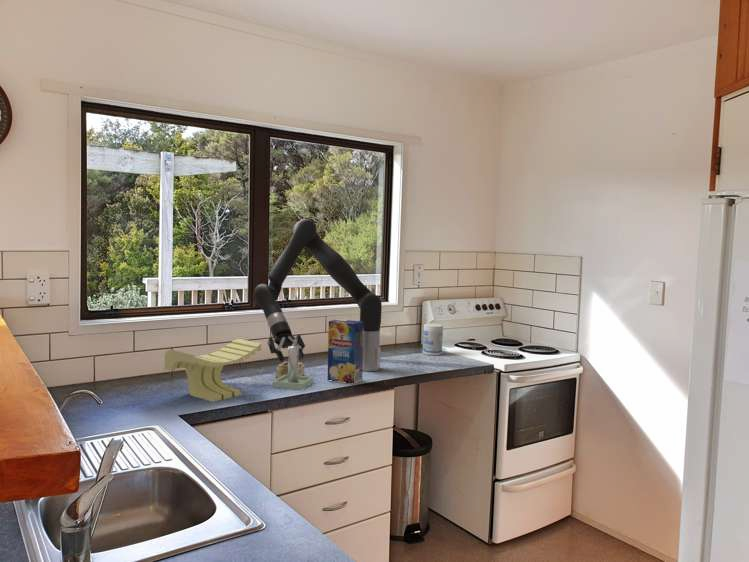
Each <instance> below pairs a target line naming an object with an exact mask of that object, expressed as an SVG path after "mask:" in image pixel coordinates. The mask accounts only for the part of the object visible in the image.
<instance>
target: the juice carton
mask: <svg viewBox="0 0 749 562" xmlns="http://www.w3.org/2000/svg"><path fill="white" fill-rule="evenodd" d="M363 323H364V321H360V320H351V319H341V318H337V319H336V318H335V319H333V320H328V333H327V334H328V335H327V339H328V341H327V343H328V345H327V347H328V348H327V381H328V380H332V381H331V382H333V381H340V382H346V383H345V384H348V383H353V384H352V385H355V384H354V383H356V382H358V383H360V382H362V381H363V371H362V365H363ZM361 380H362V381H361ZM359 381H360V382H359ZM340 382H339V383H340ZM356 384H357V383H356Z"/></svg>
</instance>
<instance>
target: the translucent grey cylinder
mask: <svg viewBox="0 0 749 562" xmlns="http://www.w3.org/2000/svg"><path fill="white" fill-rule="evenodd" d="M287 349H288V353H287V354H288V356H287V357H288V359H287V360H288V361H287V362H288V382H292V383H298V382H299V363H300V358H299V346H296V345H294V344H292V346H288V348H287Z"/></svg>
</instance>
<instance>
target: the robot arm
mask: <svg viewBox="0 0 749 562" xmlns="http://www.w3.org/2000/svg"><path fill="white" fill-rule="evenodd" d="M317 230H318V229H317V225H316V223H315V222H314V221H313V220H311V219H309V218H305V219H301V220H299V221H298V222H296V223H295V224H294V226H293V229H292V236H291V239H290V240H289V242H288V243H287V246H286V247H285V249H284V250H283V252H281V254H280V256H279V257H278V259H277V260H276V262H275V263H274V265H273V266H272V268H271V269H270V271H269V273H268V275H267V279H268V280H269V283H268V285H267V284H266V283H260V284H258V285H256V287H255V288H254V292H253V293H254V298H255V300H256V302H257V303H258V306H259V307H260V308H261V310H262V312H263V315H264V316H265V320H266V322H267V326H268V329H269V331H270V333H271V335H272V336H270V337H269V338H268V340H267V346H268V348H269V351H270V354H275V355H276V356H277V359H278V361H280V362H281V363H283V362H285V355H284V354H283V352H282V349H288V346H292V345H296V346H299V361H300V360H303V359H304V357H305V354H304V352H303V350H304V348H305V347H306V344H305V343H304V341H303V338H302V336H301V335H300V334H298V335H296V336H294V335H293V334H292V329H291V327H290V324H289V323H288V320H287V317H286V316H285V315H284V312H283V310H282V308H281V306H280V304H279V303H278V302H277V300H278V299H279V297H280V293H281V290H282V287H283V284H284V282H285V280H286V278H287V277H288V275H289V274H290V273H291V270H292V269H293V266H294V264H295V263H296V262H297V260H298V258H299V257H300V255H301V253H302V252H303V250H304V249H305V248H306V249H307V250H308V251H309V252H310V253H311V254H312V255H313V256H314V258H315V259H316V260H317V262H318V263H319V264H320V265H321V267H322V268H323V269H324V270H325V272H327V274H328V275H329V276H330V277H331V278H332V279H333V281H335V282H336V283H337V284H338V285H339V286H340V287H341V288H343V289H344V290H345V291H346V292H347V293H348V294H349V295H350V297H352V299H353V300H354V302H355V303H356V305H357V306H358V307H359V309H360V310H359V321H364V323H363V365H362V372H363V371H365V372H378V371H379V370H380V369H381V349H382V348H381V346H380V341H381V340H380V338H381V337H380V335H381V334H380V333H381V324H382V311H383V310H382V308H383V307H382V305H383V304H382V300H381V299H380V297H379V296H378V295H377V294H376V293H373V291H372V290H370V289H369V288H368V287H367V286H365V284H364V283H363V282H362V281H361V280H360V279H359V277H358V276H357V275H358V274H356V272H355V270H354V269H353V268H352V267H351V265H350V264H349V262H347V260H346V259H345V258H344V257H343V256H342V255H341V254H340V253H338V251H336V250H335V248H334V249H333V248H332V247H331V246H330V245H328V243H326V242H325V241H324V240H323V239H322V237H321V236H320V235H319V233H318V232H317ZM275 344H276V345H275ZM276 346H277V348H276Z"/></svg>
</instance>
